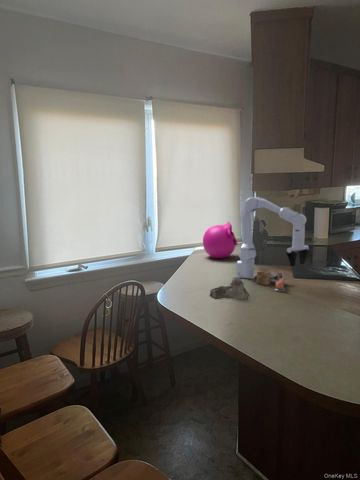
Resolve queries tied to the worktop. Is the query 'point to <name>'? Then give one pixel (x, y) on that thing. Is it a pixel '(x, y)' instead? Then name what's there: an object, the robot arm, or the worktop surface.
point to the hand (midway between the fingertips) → (297, 264)
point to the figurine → (219, 241)
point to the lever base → (279, 290)
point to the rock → (230, 290)
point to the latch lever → (280, 284)
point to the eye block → (263, 276)
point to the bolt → (276, 276)
